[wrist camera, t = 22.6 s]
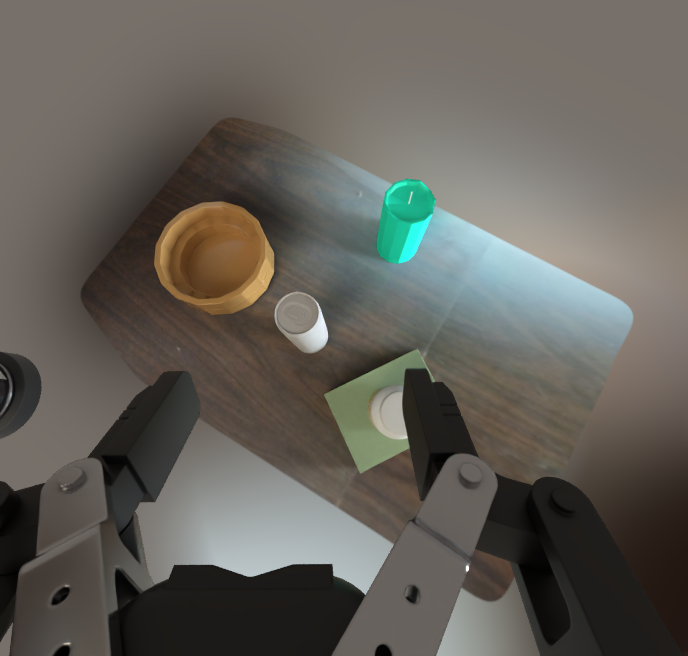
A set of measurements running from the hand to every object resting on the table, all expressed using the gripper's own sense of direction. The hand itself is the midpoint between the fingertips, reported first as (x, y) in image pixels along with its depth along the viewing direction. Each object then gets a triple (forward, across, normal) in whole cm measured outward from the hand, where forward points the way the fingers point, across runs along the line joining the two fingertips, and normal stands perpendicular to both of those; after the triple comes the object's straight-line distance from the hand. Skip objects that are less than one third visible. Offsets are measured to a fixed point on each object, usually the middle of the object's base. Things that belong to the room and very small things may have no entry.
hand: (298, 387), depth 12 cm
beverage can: (+28, +3, +16) cm, 32 cm away
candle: (+37, -9, +6) cm, 39 cm away
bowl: (+35, +16, +8) cm, 39 cm away
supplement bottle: (+18, -7, +21) cm, 29 cm away
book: (+21, -7, +23) cm, 31 cm away
